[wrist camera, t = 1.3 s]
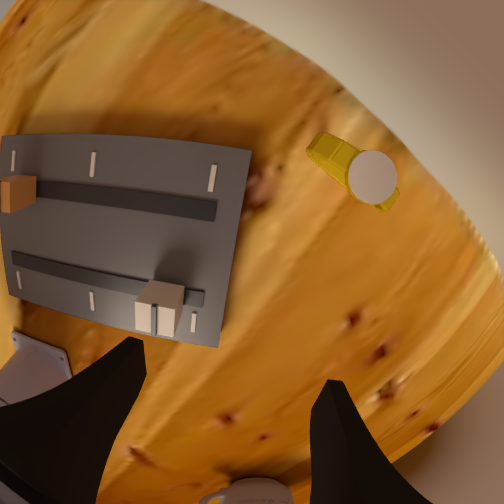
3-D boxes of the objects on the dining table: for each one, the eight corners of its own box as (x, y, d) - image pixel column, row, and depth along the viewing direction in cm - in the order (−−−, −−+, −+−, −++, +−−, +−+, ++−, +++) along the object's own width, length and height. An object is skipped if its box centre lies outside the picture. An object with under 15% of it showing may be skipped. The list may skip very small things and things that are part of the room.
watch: (293, 160, 19) (306, 158, 13) (317, 128, 18) (339, 114, 12) (360, 213, 19) (395, 233, 14) (383, 183, 19) (424, 192, 13)
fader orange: (35, 204, 16) (7, 214, 13) (15, 201, 16) (-13, 211, 13) (36, 175, 16) (7, 182, 12) (15, 174, 15) (-13, 180, 12)
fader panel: (219, 334, 22) (218, 349, 21) (19, 286, 21) (8, 295, 19) (251, 150, 18) (252, 150, 16) (15, 135, 16) (0, 136, 14)
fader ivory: (182, 312, 19) (172, 340, 16) (148, 306, 19) (134, 332, 16) (184, 285, 18) (174, 311, 15) (149, 278, 18) (133, 302, 15)
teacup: (306, 479, 33) (313, 521, 25) (258, 499, 35) (260, 536, 28) (231, 457, 29) (230, 510, 22) (187, 478, 32) (182, 522, 24)
